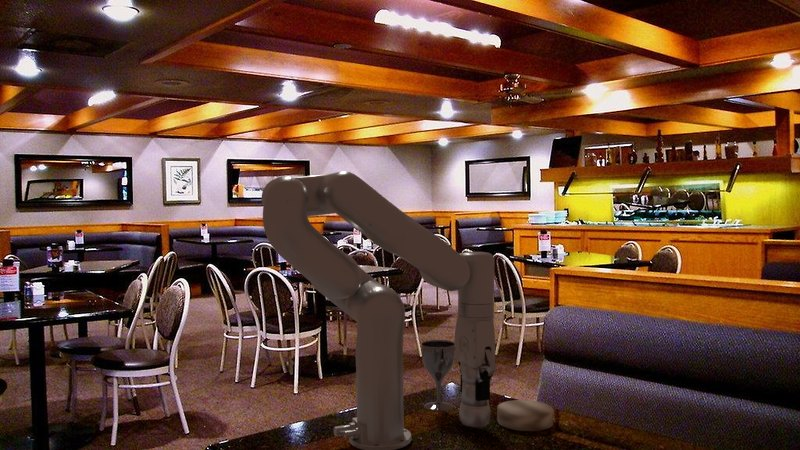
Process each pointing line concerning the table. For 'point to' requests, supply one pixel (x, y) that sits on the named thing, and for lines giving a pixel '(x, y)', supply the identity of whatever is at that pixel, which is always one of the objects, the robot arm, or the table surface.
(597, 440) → the table surface
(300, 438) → the table surface
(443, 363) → the wine glass
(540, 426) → the pedestal
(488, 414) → the plastic bottle
